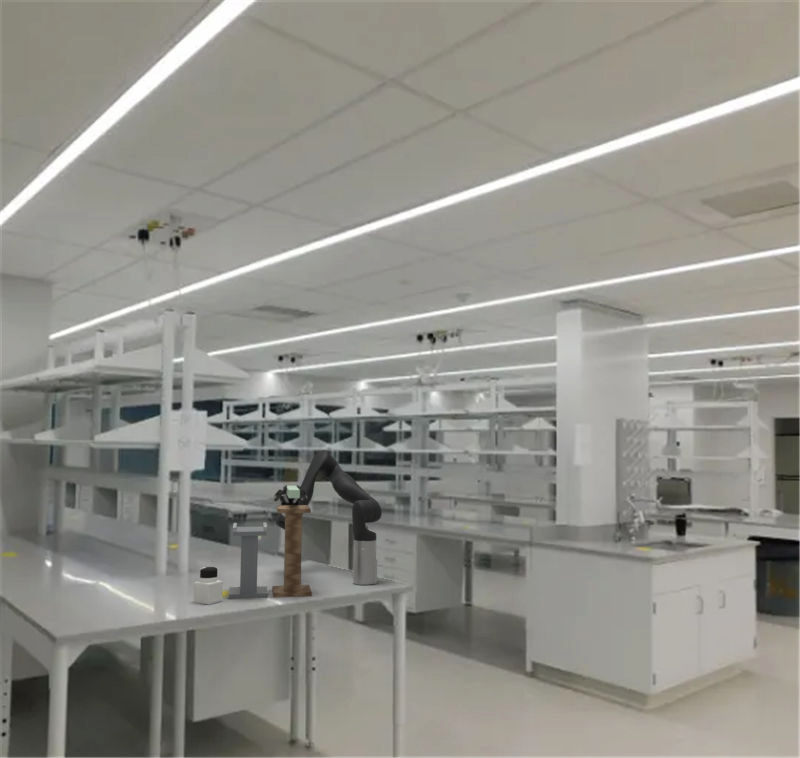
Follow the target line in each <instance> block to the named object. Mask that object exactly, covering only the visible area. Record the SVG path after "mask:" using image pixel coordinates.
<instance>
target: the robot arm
mask: <svg viewBox="0 0 800 758" xmlns="http://www.w3.org/2000/svg"><path fill="white" fill-rule="evenodd" d="M318 473H319V474H320V475H321V476H322V477H324V478H325V479H326V480H328V481H329V482H330V483H331V484H332V488H333V490H334V491H335V492H336V494H337V495H338V496H339V497H340V498H341V499H343V500H344V501H346V502H348V503H350V504H353V505H352V509H351V519H352V521H351V522H352V534H353V563H352V565H353V570H352V573H353V574H352V575H353V576H352V578H353V579H352V581H353V584H354V585H360V586H361V585H363V586H368V585H374V584H378V559H377V532H376V531H375V532H374V531H373V530H369V529H368V528H367V526H366V524H367V523H368V524H369V523H370V524H371V523H375V522H379V520H380V519H381V517H382V514H383V513H382V508H381V505H380V503H379V502H378V501H377V500H376V499H375V498H373V497H372V496H371V494H369V493H367V492H366V490H364V489H363V488H362V487H361V486H360V485H359V484H358V483H357V481H356V480H355V479H354V478H353V477H352V476H351V475H350V474H348V473H346V472H344V470H343V469H342V467H341V466H340V465H339V463H338V461H337V460H336V459H335V458H334V457H333V456H332V455H331V453H330V452H329V451H327V450H325V449H324V450H323V449H322V450H320V451H318V452H316V453H315V454H314V456H313V457H312V459H311V462H310V464H309V467H308V469H307V471H306V472H305V476H304V479H303V480H302V483H301V485H299V484H298V485H297V484H296V486H297V488H298V489H299V490H300V498H288V496H287V486H288V485H287V484H286V485H284V486H283V489H278V490H277V491H276V492H275V493H274V495H273V497H274V498H273V501H274V502H277V501H280V505H308V506H309V504H310V502H311V501H312V498H313V495H314V490H315V483H316V480H317V476H318ZM303 515H304V513H302V516H303ZM275 524H276V526H277V527H279V528H280V529H282V530H284V531H285V513H278V514H277V516H276V518H275Z"/></svg>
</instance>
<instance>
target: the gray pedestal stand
mask: <svg viewBox="0 0 800 758" xmlns="http://www.w3.org/2000/svg"><path fill="white" fill-rule="evenodd" d="M262 523H263V524H262V525H263V526H238V523H237V522H233V524H232V537H241V539H240V542H241V543H240V580H239V586H230V587H229V590H228V599H230V600H231V599H234V600H235V599H236V600H237V599H262V598H265V599H266V598H268V597H269V590H268V589H269V588H268V585H259V586H258V558H259V557H258V555H259V554H258V549H259V536H267V532H268V524H267V522H262Z"/></svg>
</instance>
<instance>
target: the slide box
mask: <svg viewBox="0 0 800 758" xmlns="http://www.w3.org/2000/svg"><path fill="white" fill-rule="evenodd" d="M287 496H288V498H300V490H299V489H298V488H297V485H287Z"/></svg>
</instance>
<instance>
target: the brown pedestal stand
mask: <svg viewBox="0 0 800 758" xmlns="http://www.w3.org/2000/svg"><path fill="white" fill-rule="evenodd" d="M276 511H277V514H279V513H285V530H284V554H283V555H284V557H283V585H272V589H271V590H272V596H273V598H287V597H288V598H291V597H292V598H293V597H312V596H313V595H312V594H313V592H312V589H311V587H310V584H302V547H303V546H302V544H303V543H302V542H303V540H302V539H303V537H302V536H303V515H302V513H303V514H311V511H312V509H311V507H310V506H309V504H308V505H281V504H279V505H276Z"/></svg>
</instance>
